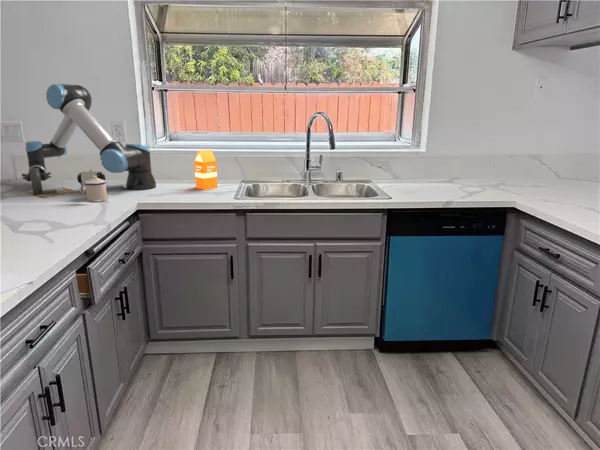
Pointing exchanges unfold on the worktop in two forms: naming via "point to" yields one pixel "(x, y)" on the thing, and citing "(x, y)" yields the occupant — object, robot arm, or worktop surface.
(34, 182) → the peg lever
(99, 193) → the teacup with lid
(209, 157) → the orange juice
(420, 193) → the worktop surface
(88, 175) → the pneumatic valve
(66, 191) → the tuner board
